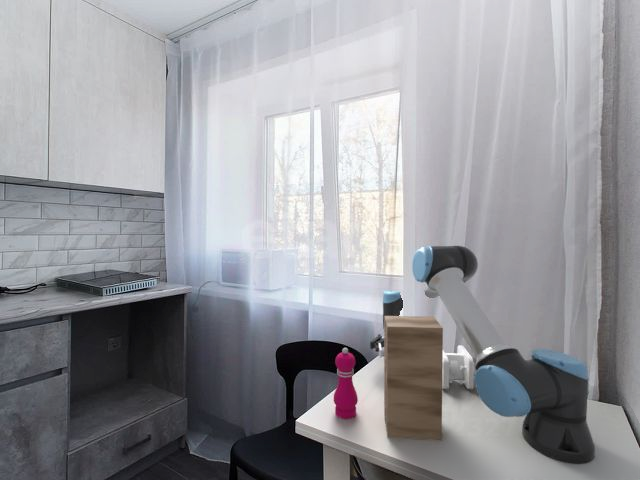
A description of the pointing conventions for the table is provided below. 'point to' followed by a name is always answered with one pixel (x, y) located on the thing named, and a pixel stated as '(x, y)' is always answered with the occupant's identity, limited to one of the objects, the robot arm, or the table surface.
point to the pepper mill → (345, 386)
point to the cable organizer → (457, 368)
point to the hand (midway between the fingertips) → (400, 354)
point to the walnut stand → (413, 377)
